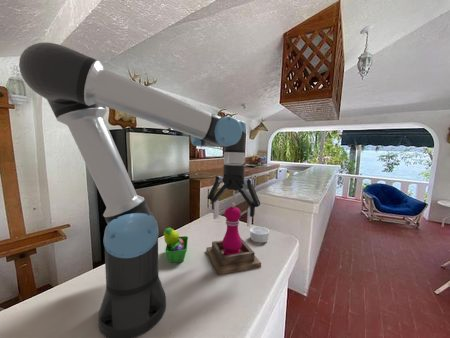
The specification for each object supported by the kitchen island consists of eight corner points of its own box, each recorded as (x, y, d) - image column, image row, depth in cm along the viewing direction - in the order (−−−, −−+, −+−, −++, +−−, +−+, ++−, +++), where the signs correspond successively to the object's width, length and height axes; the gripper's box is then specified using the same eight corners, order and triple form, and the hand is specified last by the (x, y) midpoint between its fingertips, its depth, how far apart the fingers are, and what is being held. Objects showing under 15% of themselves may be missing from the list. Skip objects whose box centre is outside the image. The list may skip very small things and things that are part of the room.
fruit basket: (187, 263, 71) (187, 233, 70) (161, 265, 69) (161, 234, 68) (188, 247, 82) (188, 221, 81) (166, 249, 81) (165, 222, 80)
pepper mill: (244, 253, 75) (246, 202, 74) (235, 262, 69) (236, 206, 67) (228, 248, 79) (229, 199, 77) (218, 256, 73) (219, 203, 71)
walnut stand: (217, 274, 64) (217, 261, 64) (206, 251, 80) (206, 240, 79) (261, 266, 69) (261, 254, 69) (242, 245, 85) (243, 235, 84)
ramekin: (269, 244, 86) (269, 235, 86) (248, 242, 88) (249, 233, 88) (268, 236, 95) (269, 227, 95) (250, 234, 97) (250, 225, 96)
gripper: (270, 165, 69) (267, 224, 71) (209, 162, 80) (208, 213, 82) (265, 167, 62) (261, 231, 64) (199, 162, 73) (198, 218, 75)
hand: (231, 221), depth 73 cm, fingers open, 13 cm apart
